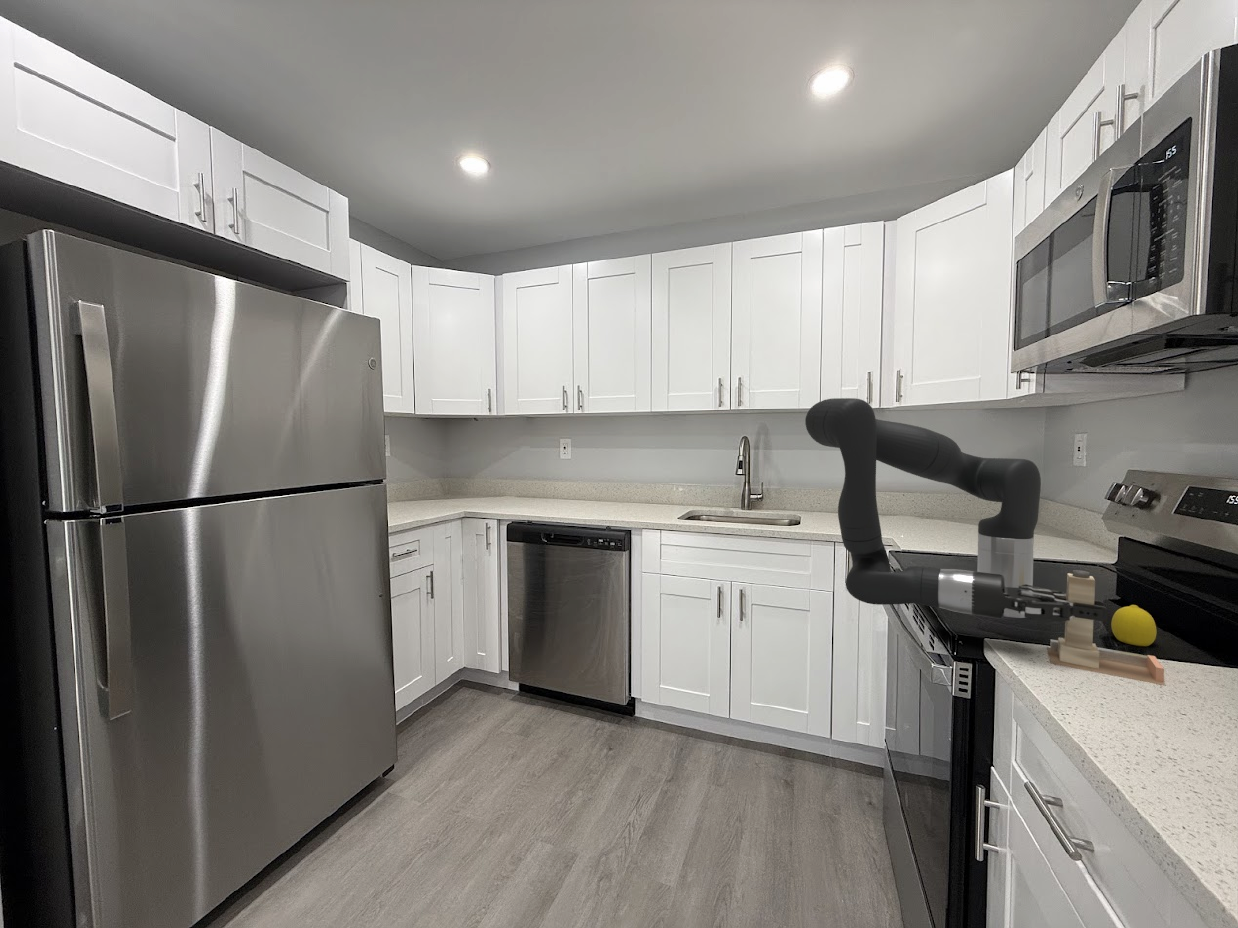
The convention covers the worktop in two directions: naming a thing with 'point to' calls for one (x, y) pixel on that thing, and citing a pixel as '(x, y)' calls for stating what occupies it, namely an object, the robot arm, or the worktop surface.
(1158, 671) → the end stop
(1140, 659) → the straightedge
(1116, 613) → the lemon
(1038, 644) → the worktop surface
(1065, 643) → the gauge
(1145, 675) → the board
